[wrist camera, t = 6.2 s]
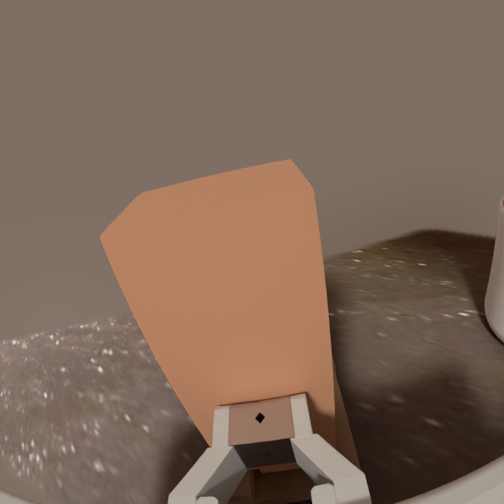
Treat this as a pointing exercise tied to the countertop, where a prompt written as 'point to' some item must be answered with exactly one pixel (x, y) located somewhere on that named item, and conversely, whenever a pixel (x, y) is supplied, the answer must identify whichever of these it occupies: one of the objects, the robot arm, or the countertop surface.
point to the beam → (295, 480)
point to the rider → (231, 291)
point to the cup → (497, 281)
